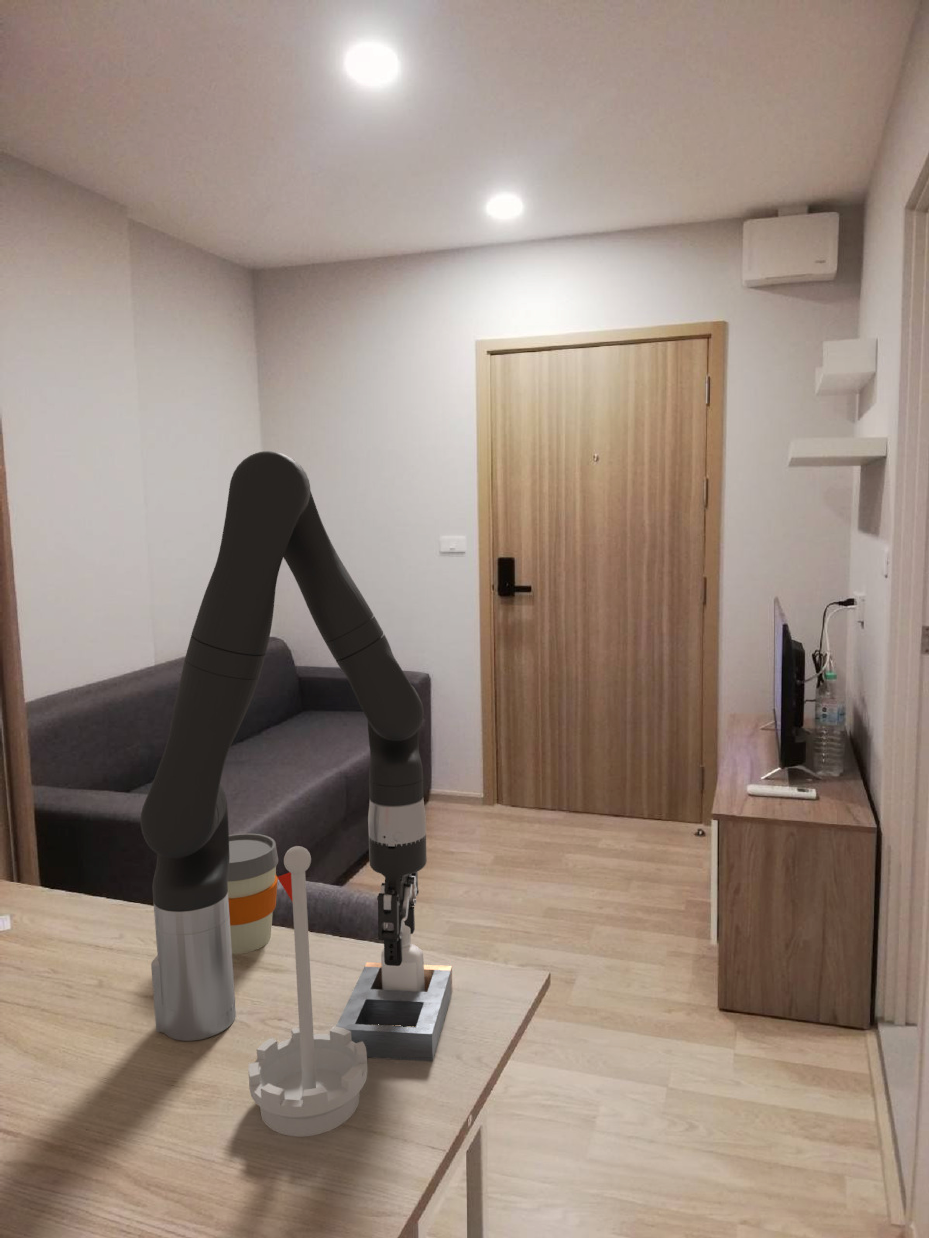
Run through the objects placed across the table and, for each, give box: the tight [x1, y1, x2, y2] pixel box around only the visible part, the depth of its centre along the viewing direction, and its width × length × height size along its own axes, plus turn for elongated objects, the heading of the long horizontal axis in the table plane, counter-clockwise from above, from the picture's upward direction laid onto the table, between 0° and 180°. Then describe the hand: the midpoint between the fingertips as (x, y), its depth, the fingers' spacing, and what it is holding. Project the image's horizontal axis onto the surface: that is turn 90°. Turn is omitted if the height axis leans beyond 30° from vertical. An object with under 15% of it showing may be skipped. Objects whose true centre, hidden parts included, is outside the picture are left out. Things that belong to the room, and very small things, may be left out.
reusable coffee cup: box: [228, 833, 279, 955], centre depth 138 cm, size 13×13×15 cm
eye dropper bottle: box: [380, 922, 425, 992], centre depth 119 cm, size 4×6×12 cm
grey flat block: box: [335, 961, 454, 1062], centre depth 116 cm, size 12×16×4 cm
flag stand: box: [247, 845, 368, 1137], centre depth 99 cm, size 13×13×30 cm
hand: (400, 948), depth 119 cm, fingers open, 8 cm apart
